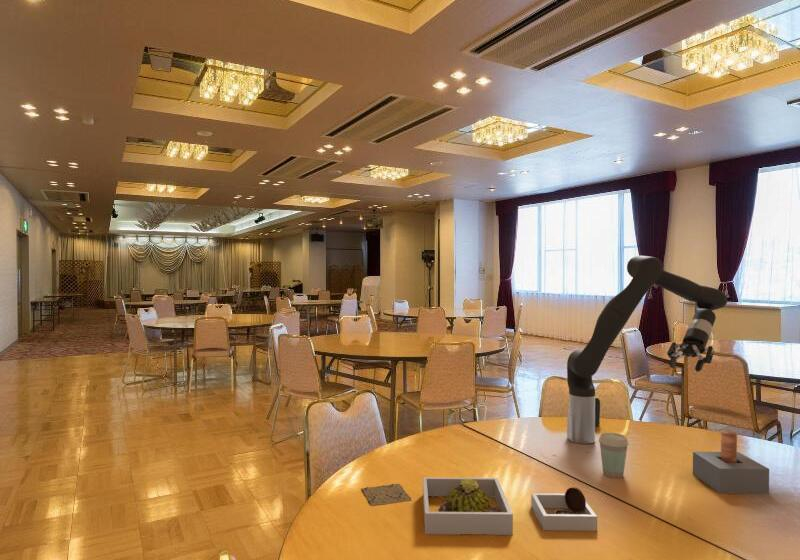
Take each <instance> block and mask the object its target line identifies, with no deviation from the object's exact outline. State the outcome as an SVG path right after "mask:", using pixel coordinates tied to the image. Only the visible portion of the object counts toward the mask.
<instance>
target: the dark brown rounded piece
mask: <svg viewBox="0 0 800 560" xmlns="http://www.w3.org/2000/svg"><path fill="white" fill-rule="evenodd" d="M564 494H565V502H566V505H567V506H568V508H567V509H557V510H555V511H553V512H552V514H581V513H580V512H582V511H583V510H584V509H585V506H586V502H587V501H586V498H585V495H584V493H583V492H582V491H581V490H580V488H579V487H578V488H577V487H575V486H573V487H569V488H567V490H566V491H565V493H564Z"/></svg>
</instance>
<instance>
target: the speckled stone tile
mask: <svg viewBox="0 0 800 560" xmlns="http://www.w3.org/2000/svg"><path fill="white" fill-rule="evenodd" d="M360 490H361V492H362V493H363V496H364V498H365V499H366V501H367V503H368V504H369V505H370V507H376V506H384V505H391V504H396V503H397V504H398V503H404V502H405V503H406V502H412V501H413V499H412V497H411V496H410V495H409V494H408V493H407V492H406V491H405V489H404V488H403V486H402V485H401V484H400V483H391V484H386V485H383V484H382V485H378V486H372V487H371V486H370V487H369V486H367V487H362V488H360Z"/></svg>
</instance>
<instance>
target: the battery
mask: <svg viewBox="0 0 800 560" xmlns="http://www.w3.org/2000/svg"><path fill="white" fill-rule="evenodd" d="M600 416H601V400H600V398H599V397H597V396H595V426H599V425H600V418H601V417H600Z"/></svg>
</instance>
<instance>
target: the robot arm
mask: <svg viewBox="0 0 800 560" xmlns="http://www.w3.org/2000/svg"><path fill="white" fill-rule="evenodd" d="M626 272H627V273H628V274H629V276H630V277H631V278H632V279H631V280H630V282H629V284H627V285H626V287H624V289H623V290H622V291H620V292H619V293H617V294H616V295H615V296H613V297H612V298H611V299H610V300H609V301H608V302H607V303H606V304H605V306H604V307H603V309H602V311H601V312H600V314H599V315H598V318H597V319H596V323H595V326H594V329H593V333H592V336H591V338H590V340H589V341H588V343H587V344H586V346H584V348H583V349H582V350H580V349H579V350H574V351H573V352H571V353H570V354H569V356H568V358H567V362H566V363H567V364H566V372H567V373H566V375H567V379H566V380H567V386H568V412H567V413H566V438H567V439H568V440H569V441H570V442H571V443H575V444H583V445H584V444H586V445H587V444H593V443H595V442H596V425H595V397H596V388H595V386H594V381H593V376H594V375H595V374H597V372H598V371H599V368H600V366H601V364H602V362H603V361H604V358H605V356H606V354H607V353H608V351H609V349H610V348H611V346H612V344H613V343H614V342H615V340H616V339H617V337H618V336H619V334H620V333H621V331H622V330H623V329H624V327H625V325H626V324H627V323H628V321H629V319H630V318H631V316H632V314H633V313H634V311H635V310H636V309H637V307H638V306H639V304H640V303H641V301H642V299H643V298H644V297H645V295H646V294H647V292H649V290H650V289H651V288H652V287H653V285H655V286H658V287H661V289H664V290H667V291H669V292H670V293H672V294H674V295H676V296H678V297H680V298H682V299H684V300H687V301H689V302H692V303H694V315H693V316H692V319H691V321H690V323H689V324H688V327H687V329H686V332H685V334H684V336H683V340H682V342H681V343H680V344H679V343H676V341H673V342H672V343H671V345H670V346H669V348H668V350H667V353H666V355H667V356H668V358H669V359H670V360H669V362H668V364H669V365H668V366H670V368H671V369H674V368H675V366H676V364H677V360H679V359H683V358H684V357H689V358H696V357H697V358H698V360H697V362H696V365H695V367H694V369H695V371H696V372H697V373H699V372H700V371H702V369H703V366H704V364H711V363H712V360H713V356H714V354H715V350H714V348H713V346H712V345H709V346H707V344H708V342H709V340H710V337H711V336H712V335H711V334H712V330H713V326H714V324H715V321H716V316H717V315H716V313H715V312H714V311H715V310H719V309H723V308H724V307H725V306H726V305H727V303H728V297H727V295H726V294H725V293H724V292H723V291H721V289H717V288H716V287H715V288H714V287H709V286H706V285H700V284H698V283H696V282H695V281H692V280H691V279H689V278H686V277H684V276H683V277H682V276H681V275H678V274H675V273H671V272H669V271H667V270H665V269H663V264H662V261H661V260H660V259H659V258H657V257H654V256H648V255H635V256H633V257H632V258H630V259H629V260H628V262H627V264H626ZM705 352H706V355H705V357H703V356H702V354H703V353H705Z"/></svg>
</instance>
